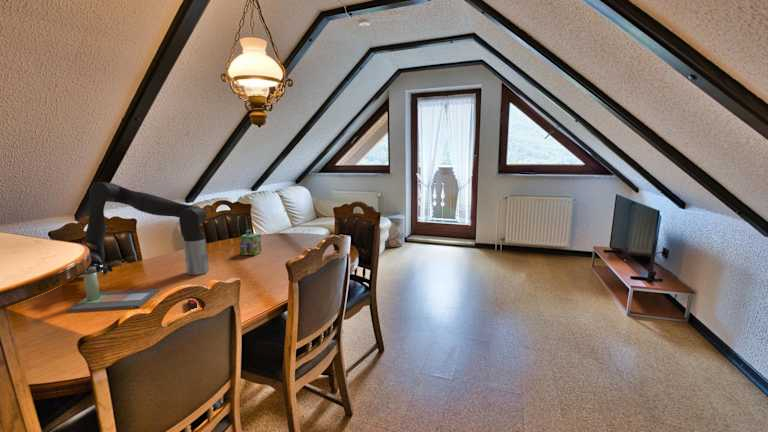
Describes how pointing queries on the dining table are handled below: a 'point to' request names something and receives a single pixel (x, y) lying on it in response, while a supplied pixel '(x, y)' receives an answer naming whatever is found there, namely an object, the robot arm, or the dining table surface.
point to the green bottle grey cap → (91, 284)
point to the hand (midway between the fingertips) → (90, 274)
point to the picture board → (115, 300)
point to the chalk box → (250, 243)
